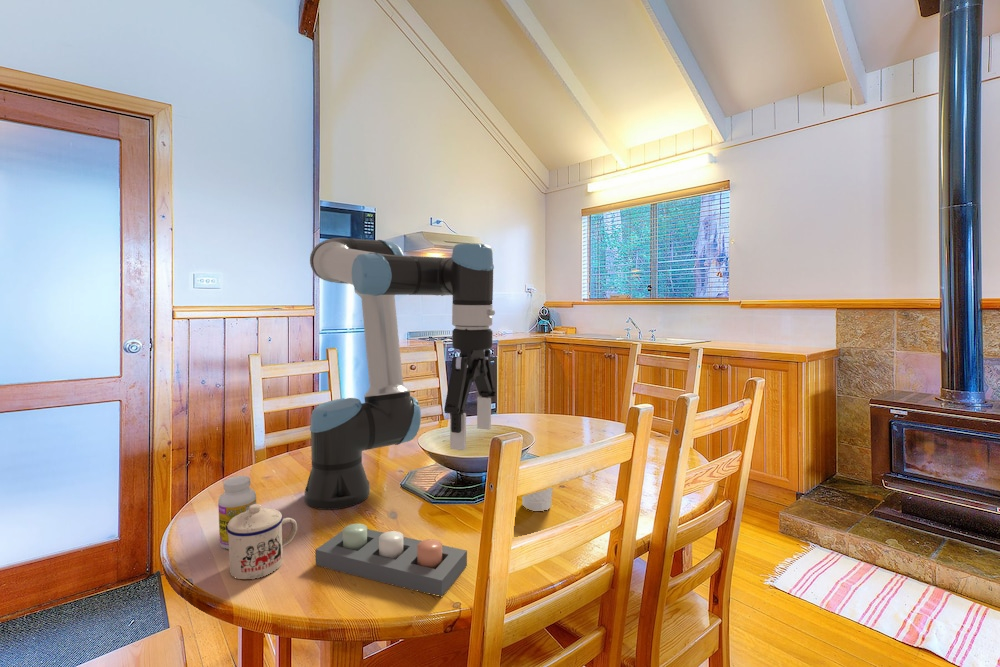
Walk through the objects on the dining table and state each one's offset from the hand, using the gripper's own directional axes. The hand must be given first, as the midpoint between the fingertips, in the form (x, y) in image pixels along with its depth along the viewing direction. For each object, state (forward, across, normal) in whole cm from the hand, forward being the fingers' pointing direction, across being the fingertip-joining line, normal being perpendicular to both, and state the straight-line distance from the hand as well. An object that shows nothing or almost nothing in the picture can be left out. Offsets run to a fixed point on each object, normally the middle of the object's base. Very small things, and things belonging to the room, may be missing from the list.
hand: (471, 438), depth 93 cm
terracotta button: (+20, -10, +4) cm, 23 cm away
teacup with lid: (+23, -16, +34) cm, 44 cm away
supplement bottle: (+23, -12, +45) cm, 52 cm away
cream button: (+21, -10, +12) cm, 26 cm away
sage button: (+20, -9, +20) cm, 30 cm away
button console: (+22, -10, +12) cm, 27 cm away
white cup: (+23, +24, -7) cm, 34 cm away
